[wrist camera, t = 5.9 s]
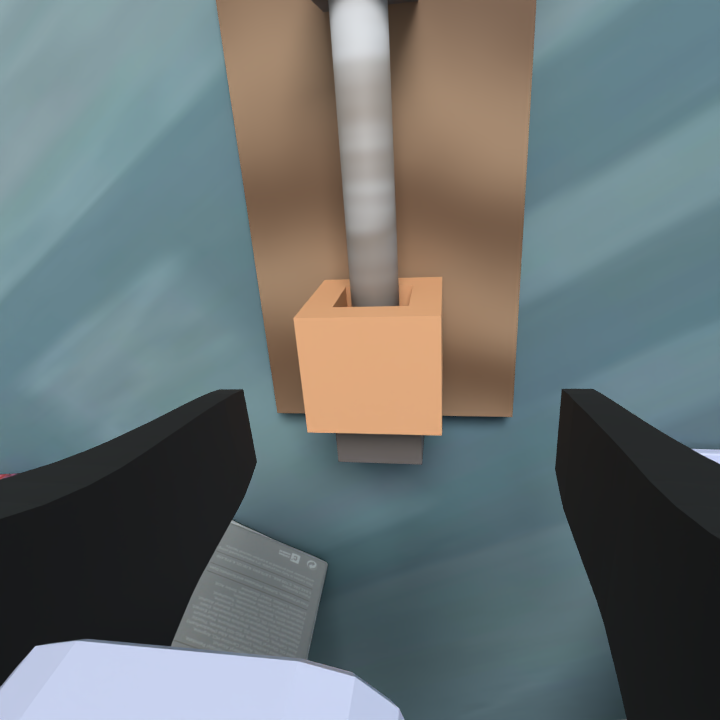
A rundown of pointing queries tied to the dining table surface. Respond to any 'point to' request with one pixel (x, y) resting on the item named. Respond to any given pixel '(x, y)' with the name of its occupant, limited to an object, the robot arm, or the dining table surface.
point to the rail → (429, 171)
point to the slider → (372, 360)
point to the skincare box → (254, 598)
